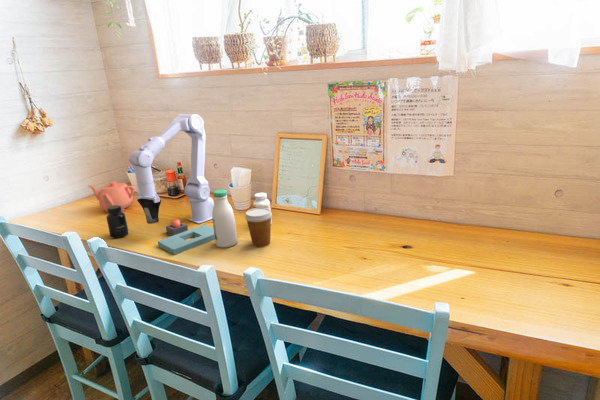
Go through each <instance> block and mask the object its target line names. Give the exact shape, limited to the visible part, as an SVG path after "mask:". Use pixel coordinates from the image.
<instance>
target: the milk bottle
mask: <svg viewBox="0 0 600 400" xmlns="http://www.w3.org/2000/svg"><path fill="white" fill-rule="evenodd" d="M227 192H228V191H227V190H226V189H217V190H214V191H213V193H212V195H213V198H214V207H213V211H212V219H211V220H212V226H213V227H212V228H214V234H215V239H214V240H215V245H216V247H218V248H223V249H224V248H226V249H227V248H230V247H233V246H235V245H236V244H237V243H238V237H237V235H238V234H237V229H236V228H237V227H236V220H235V214H234V213H235V212H234V210H233V208H232V205H231V204H230V203H229V201H228V193H227Z"/></svg>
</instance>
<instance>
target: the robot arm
mask: <svg viewBox="0 0 600 400" xmlns="http://www.w3.org/2000/svg"><path fill="white" fill-rule="evenodd" d="M204 122H205V121H204V119H203V118H202V117H201V116H200V115H199V114H195V113H194V114H193V113H192V114H187V113H186V114H185V113H179V114H178V115H177V116H175V117H174V118H173V119H172V122H171V123H170V124H169V125H167V127H166V128H165V129H164V130H163V131H162V132H161V133H160V134H159V135H157V136H156V135H155V136H154V135H153V136H152V137H151V136H150V137H149V138H147V141H145V143H144V144H143V145H139V147H138V149H134V150H132V152H131V153H130V156H129V159H128V161H129V163H130V164H131V165H132V166H133V170H134V173H135V174H134V175H135V179H136V183H137V188H138V190H137V191H136V194H137V196H136V199H137V200H136V201H137V202H138V204H139V206H141V209H142V210H143V213H145V211H144V207H145V206H147V207H148V209H149V212H150V215H151V217H152V219H156V218H159V212H160V211H159V210H160V206H161V203H162V200H161V198H160V196H159V195H158V193H157V191H156V188H155V187H156V186H155V181H154V176H153V172H152V164H153V161H154V159H155V157H157V155H158V154H159V153H161V152H162V150H164V149H165V148H166V147H165V145H166V143H168V141H169V140H170V139H172V138H173V137H175V136H176V135H177V134H178V133H180V132H184V133H186V134H187V135H188V136H189V137H190V138H191V148H190V149H191V153H190V175H189V177H188V178H187V179H186V185H185V186H184V189H183V190H184V194H185V197H187V198H188V200H189V205H190V211H191V217H190V218H188V220H189V221H191V222H193V223H196V224H197V225H199V224H202V223H204V222H208V221H210V220H213V219H212V211H213V207H214V203H215V200H214V199H213V198H212V197H211V196H210V195H211V190H210V186H209V181H208V180H207V179H206V178H205V166H206V165H205V164H206V163H205V161H206V141H207V140H206V138H207V137H206V135H207V133H206V131H205V130H206V129H205V127H204V125H205V123H204Z"/></svg>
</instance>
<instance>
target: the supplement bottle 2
mask: <svg viewBox="0 0 600 400" xmlns="http://www.w3.org/2000/svg"><path fill="white" fill-rule="evenodd" d="M267 197H268V195H267V193H266V192H257V193H255V194H254V199H255V200H254V201H253V204H252V205H253V209H254V208H268V209H270V211H271V212H272V209H271V201H270V200H269V199H268V198H267ZM272 224H273V220H272V217H271V225H272Z"/></svg>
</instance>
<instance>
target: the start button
mask: <svg viewBox="0 0 600 400" xmlns="http://www.w3.org/2000/svg"><path fill="white" fill-rule="evenodd" d="M180 220H181V219H178V218H177V219H173V220H171V221H170V223H171V224H172V227H173V228H177V227H179V226H181V225H180V222H181V221H180Z"/></svg>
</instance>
